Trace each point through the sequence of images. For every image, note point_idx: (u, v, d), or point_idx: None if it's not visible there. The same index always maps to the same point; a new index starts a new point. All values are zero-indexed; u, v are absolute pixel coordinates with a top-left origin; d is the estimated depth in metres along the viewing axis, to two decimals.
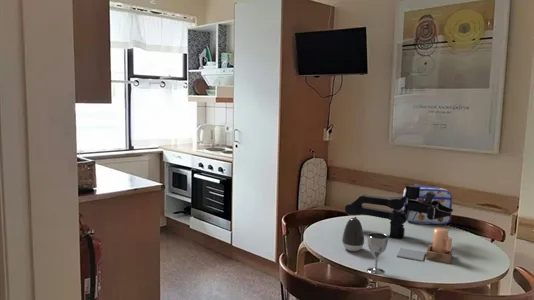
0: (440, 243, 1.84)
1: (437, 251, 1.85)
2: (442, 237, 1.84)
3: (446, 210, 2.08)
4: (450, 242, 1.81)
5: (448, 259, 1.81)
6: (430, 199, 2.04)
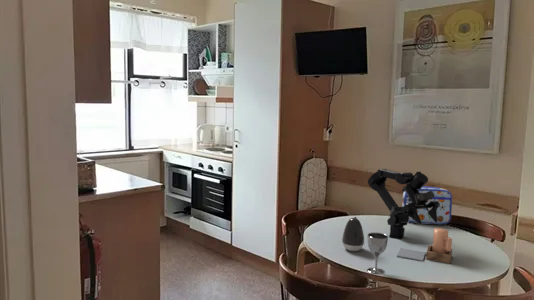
0: (440, 243, 1.84)
1: (437, 251, 1.85)
2: (442, 237, 1.84)
3: (433, 217, 1.98)
4: (450, 242, 1.81)
5: (448, 259, 1.81)
6: (420, 198, 1.95)
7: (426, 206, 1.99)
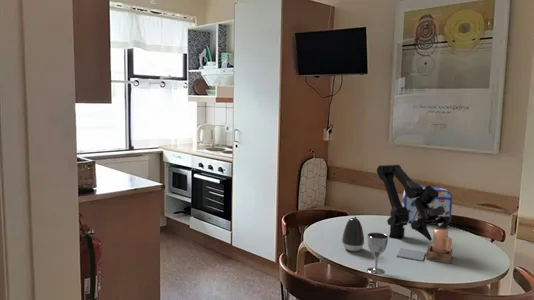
0: (440, 243, 1.84)
1: (437, 251, 1.85)
2: (442, 237, 1.84)
3: None
4: (450, 242, 1.81)
5: (448, 259, 1.81)
6: (431, 214, 1.89)
7: (436, 221, 1.93)
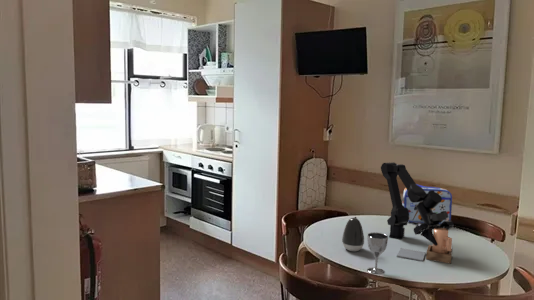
0: (440, 243, 1.84)
1: (437, 251, 1.85)
2: (442, 237, 1.84)
3: None
4: (450, 242, 1.81)
5: (448, 259, 1.81)
6: (434, 219, 1.87)
7: (439, 226, 1.91)
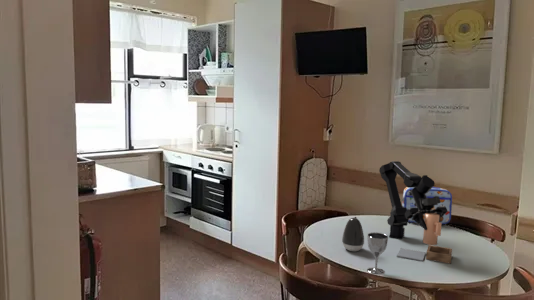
0: (430, 228, 1.84)
1: (427, 236, 1.85)
2: (432, 222, 1.83)
3: None
4: (439, 227, 1.81)
5: (448, 259, 1.81)
6: (425, 203, 1.87)
7: (432, 212, 1.91)
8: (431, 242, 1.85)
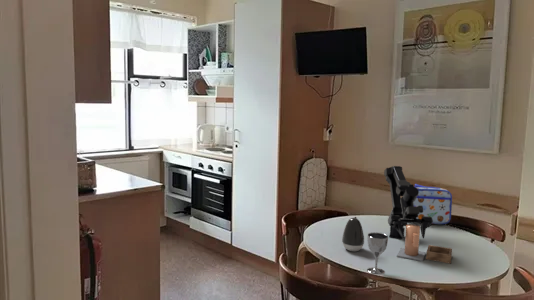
0: (409, 239, 1.87)
1: (407, 246, 1.89)
2: (411, 233, 1.87)
3: (421, 233, 1.90)
4: (416, 238, 1.84)
5: (448, 259, 1.81)
6: (407, 212, 1.90)
7: (417, 221, 1.92)
8: (410, 253, 1.88)
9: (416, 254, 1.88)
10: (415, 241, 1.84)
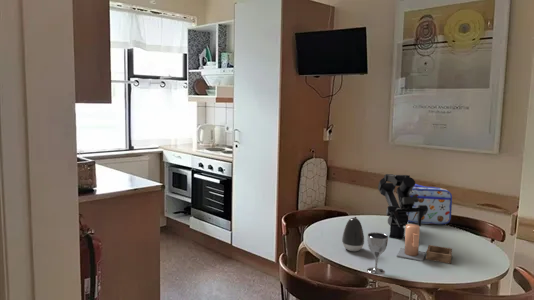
0: (409, 239, 1.87)
1: (406, 246, 1.88)
2: (411, 233, 1.86)
3: (418, 221, 1.99)
4: (416, 238, 1.83)
5: (448, 259, 1.81)
6: (403, 202, 1.98)
7: (413, 210, 2.01)
8: (410, 253, 1.88)
9: (416, 254, 1.88)
10: (415, 241, 1.84)
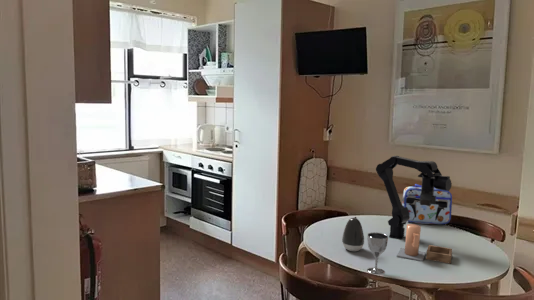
0: (410, 239, 1.87)
1: (407, 246, 1.88)
2: (411, 233, 1.86)
3: (436, 214, 2.01)
4: (417, 238, 1.83)
5: (448, 259, 1.81)
6: None
7: (433, 203, 2.00)
8: (410, 253, 1.88)
9: (416, 254, 1.88)
10: (415, 241, 1.84)
